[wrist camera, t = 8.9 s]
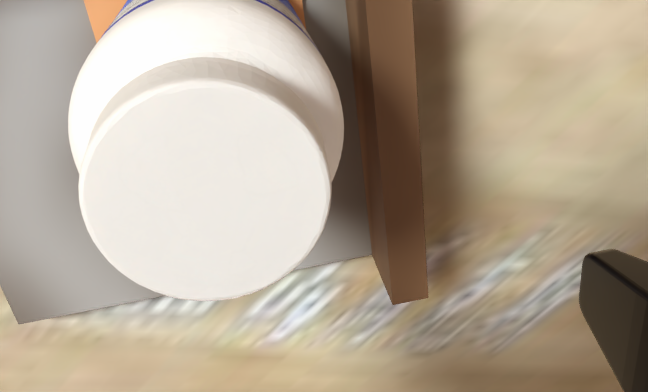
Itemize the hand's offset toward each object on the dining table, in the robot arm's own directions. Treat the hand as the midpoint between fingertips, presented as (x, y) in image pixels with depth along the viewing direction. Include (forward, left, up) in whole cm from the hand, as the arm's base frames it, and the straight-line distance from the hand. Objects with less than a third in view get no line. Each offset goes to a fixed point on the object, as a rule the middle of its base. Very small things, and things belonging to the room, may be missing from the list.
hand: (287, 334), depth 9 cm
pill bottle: (+1, -1, -12) cm, 12 cm away
